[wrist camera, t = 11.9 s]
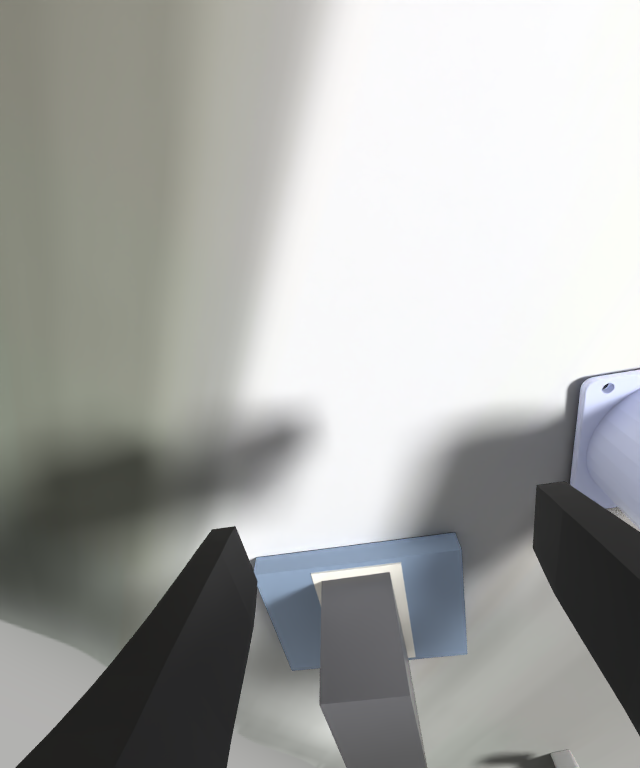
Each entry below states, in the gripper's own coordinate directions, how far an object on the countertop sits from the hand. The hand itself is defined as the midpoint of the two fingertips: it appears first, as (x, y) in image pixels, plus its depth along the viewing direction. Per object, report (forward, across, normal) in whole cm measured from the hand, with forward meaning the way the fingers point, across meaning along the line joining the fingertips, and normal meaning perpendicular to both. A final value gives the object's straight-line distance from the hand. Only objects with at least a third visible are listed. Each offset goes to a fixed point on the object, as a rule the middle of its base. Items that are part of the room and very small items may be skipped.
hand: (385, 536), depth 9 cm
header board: (+9, +2, +16) cm, 19 cm away
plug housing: (+8, +2, +16) cm, 18 cm away
